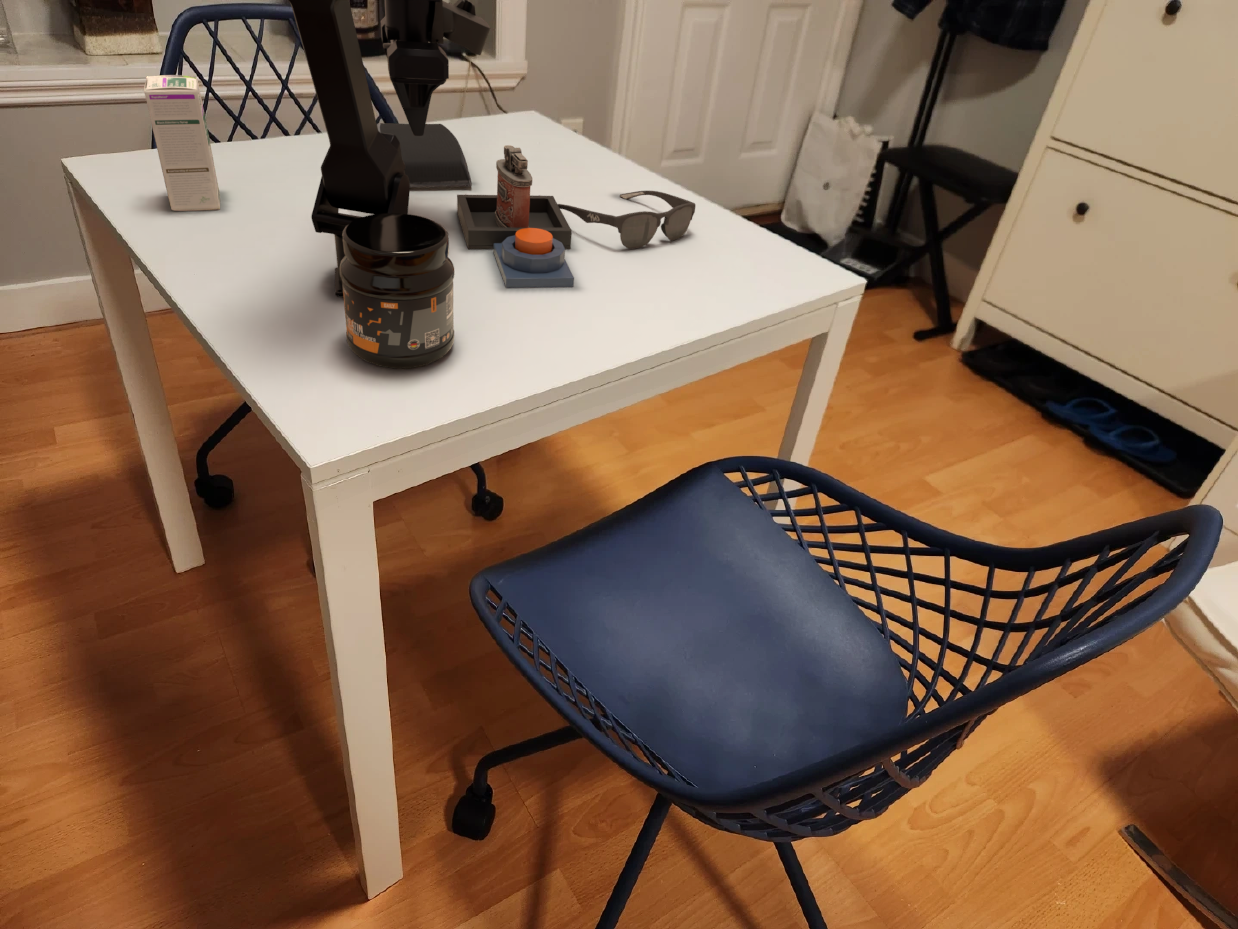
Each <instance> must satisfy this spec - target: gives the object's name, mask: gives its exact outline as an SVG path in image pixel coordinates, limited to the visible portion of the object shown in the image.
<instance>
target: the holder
mask: <svg viewBox="0 0 1238 929" xmlns="http://www.w3.org/2000/svg"><path fill="white" fill-rule="evenodd" d="M558 204H559V203H558V202H557V200H556V199H555V196H554V195H530V206H529V228H538V229H543V230H546V231H548V232H550V233H551V234H552V236H553V238H554V239H556V240H558V241H560V242H562V244H563V246H564V248H565V250H571V247H572V246H571V245H572V236H573V235H572V233H573V230H572V228H571V226H570V224H569V223H568V221H567V218H565V215H564V213H563V212H562V209H560V208H559V206H558ZM456 209H457V210H456V214H457V216H458V220H459V224H460V226H461V230H462V233H463V237H464V240H465V244H466V247H467V249H468V250H493V248H494V243H502V242H503V241H504V240H505V239H506V238H507V237H510V236H514V235H515V234H516V232H517V231H518V230H520V229H524V228H518V227H499V226H498V224H497V223H496V220H495V211H496V210H497V194H456Z"/></svg>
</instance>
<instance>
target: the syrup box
mask: <svg viewBox="0 0 1238 929" xmlns="http://www.w3.org/2000/svg"><path fill="white" fill-rule="evenodd" d="M198 79H199V78H198V77H196V76H192V75H181V74H163V75H151V76H150V75H147V76H146V77H145V82H144V89H143V92H144V96H145V101H146V106H147V109H148V114H149V118H150V123H151V127H152V131H153V132H152V133H153V136H154V141H155V145H156V151H157V154H158V159H159V163H160V167H161V171H162V176H163V180H164V185H165V189H166V192H167V198H168V202H169V206H170V209H171V211H176V212H177V211H180V212H181V211H183V212H186V211H187V212H188V211H211V210H212V211H213V210H220V209H221V194H220V187H219V182H218V177H217V173H216V166H215V161H214V155H213V150H212V144H211V139H210V135H209V129H208V124H207V119H206V115H205V114H206V113H205V110H204V105H203V100H202V95H201V88H200V84H199V80H198Z"/></svg>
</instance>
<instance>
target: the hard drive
mask: <svg viewBox="0 0 1238 929" xmlns="http://www.w3.org/2000/svg"><path fill="white" fill-rule="evenodd" d="M377 128H378V131H379V132H380V133H386V134H392V135H396V137H397V139H398V140H399V142H400V147H401V154H402V159H403V162H404V164H405V169H404V171H405V175H407V176H408V178H409V183H410V188H451V187H452V188H454V187H457V188H458V187H460V188H461V187H462V188H463V187H465V188H466V187H468V188H469V187H472V186H473V183H472V179H471V178H472V177H471V174H470V170H469V167H468V162H467V160H466V156H465V154H464V151H463V149H462V147H461V144H460V142H459V140H458V139H457V137H456V136H455V135H454V133H453V132H452V131H451V130H450V129H449V128H447V127H446V125H443V123H426V124H425V129H424V134H423V136H414V135H413V133H412V130H411V128H410V125H409V123H389V122H387V123H386V122H385V123H384V122H377Z"/></svg>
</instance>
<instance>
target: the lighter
mask: <svg viewBox="0 0 1238 929" xmlns="http://www.w3.org/2000/svg"><path fill="white" fill-rule="evenodd" d="M503 156H504V158H501V159H497V160H496V164H495V168H496V171H497V180H496V181H497V182H496V184H497V185H496V186H497V187H496V188H497V189H496V195H497V210H496V211H495V220H496V223H497V224H498V226H499V227H518V228H529V206H530V196H531V186H533V176H532V174H531V172H530V171H529V170H528V166H529V165H528V163H529V161H528V159H527V157H525V156H524V154H523V153H522V149H521V147H514V145H510V144H508V145H503Z"/></svg>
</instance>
